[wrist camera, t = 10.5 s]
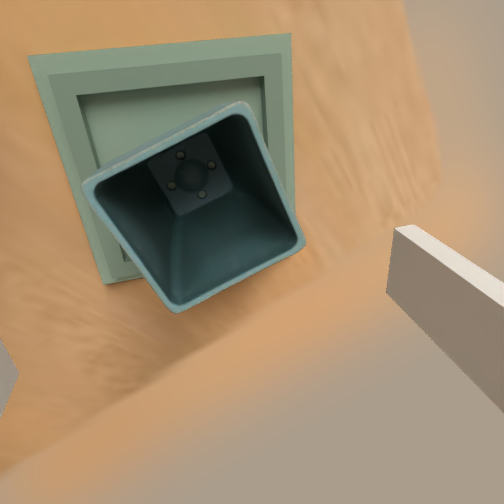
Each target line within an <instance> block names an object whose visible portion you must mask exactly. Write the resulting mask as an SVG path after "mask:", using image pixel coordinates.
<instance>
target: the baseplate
mask: <svg viewBox="0 0 504 504" xmlns="http://www.w3.org/2000/svg"><path fill="white" fill-rule="evenodd" d="M27 57H28V60H29V63H30V66H31V69H32V72H33V75H34V78H35V81H36V84H37V87H38V90H39V93H40V96H41V99H42V102H43V105H44V108H45V111H46V114H47V117H48V120H49V123H50V126H51V129H52V132H53V135H54V138H55V141H56V144H57V147H58V150H59V153H60V156H61V159H62V162H63V165H64V168H65V171H66V174H67V177H68V180H69V183H70V186H71V189H72V192H73V195H74V198H75V201H76V204H77V207H78V210H79V213H80V216H81V219H82V222H83V225H84V228H85V231H86V234H87V237H88V240H89V243H90V246H91V249H92V252H93V255H94V258H95V261H96V264H97V267H98V270H99V273H100V276H101V279H102V282H103V285H105V284H110V283H116V282H121V281H126V280H132V279H137V278H143V277H144V276H143V275H142V273H141V272H140V271H139V270H138V268H137V266H136V265H135V264H134V262H133V261H132V260H131V258H130V257H129V256H128V254H127V253H126V252H125V251H124V249H123V248H122V246H121V245H120V244H119V243H118V241H117V240H116V239H115V237H114V236H113V235H112V233H111V232H110V231H109V230H108V228H107V227H106V226H105V225H104V223H103V222H102V221H101V219H100V218H99V217H98V215H97V214H96V213H95V211H94V210H93V209H92V208H91V207H90V205H89V204H88V202H87V201H86V199H85V198H84V197H83V195H82V192H81V190H80V186H81V184H82V182H83V181H84V180H86V179H87V178H88V177H89V176H91V175H92V174H93V173H94V172H96V171H97V170H98V169H99V168H101V167H102V166H103V165H105V164H106V163H107V162H109V161H111V160H112V159H114V158H116V157H118V156H120V155H122V154H124V153H126V152H128V151H130V150H132V149H134V148H136V147H138V146H140V145H142V144H144V143H146V142H148V141H150V140H152V139H154V138H156V137H158V136H160V135H162V134H164V133H165V132H167V131H169V130H171V129H173V128H175V127H177V126H179V125H181V124H183V123H185V122H187V121H189V120H190V119H192V118H194V117H196V116H198V115H200V114H202V113H204V112H206V111H207V110H209V109H211V108H213V107H215V106H217V105H220V104H224V103H231V102H238V101H244V102H246V103H247V104H248V105H249V106H250V108H251V109H252V111H253V113H254V116H255V118H256V121H257V123H258V126H259V129H260V132H261V134H262V137H263V139H264V142H265V144H266V146H267V149H268V152H269V154H270V156H271V159H272V161H273V164H274V166H275V169H276V171H277V173H278V176H279V178H280V180H281V182H282V185H283V188H284V190H285V192H286V195H287V197H288V199H289V201H290V204H291V207H292V208H293V211H294V213H295V176H294V135H293V94H292V53H291V33H286V34H274V35H263V36H251V37H239V38H228V39H216V40H205V41H193V42H181V43H170V44H158V45H146V46H135V47H123V48H112V49H100V50H88V51H77V52H65V53H53V54H42V55H30V56H27ZM177 158H179V159H182V158H184V153H183V152H178V153H177ZM208 167H209V168H214V167H215V163H214V162H212V161H211V162H209V163H208ZM168 188H169V189H174V188H175V183H173V182H170V183H169V184H168ZM198 195H199V197H204V196H205V195H206V193H205V192H204V191H200V192H199V194H198Z"/></svg>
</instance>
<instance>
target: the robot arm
mask: <svg viewBox="0 0 504 504" xmlns="http://www.w3.org/2000/svg"><path fill="white" fill-rule="evenodd" d="M386 293H387V294H388V295H389V296H390V297H391V298H392V299H393V300H394V301H395V302H396V303H397V304H398V305H399V306H400V307H401V308H402V309H403V310H404V311H405V312H406V314H408V316H409V317H410V318H411V319H412V320H413V321H414V322H415V323H416V324H417V325H418V326H419V327H420V328H421V329H422V330H423V331H424V332H425V333H426V334H427V335H428V336H429V337H430V338H431V339H432V340H433V341H434V342H435V343H436V344H437V345H438V346H439V347H440V348H441V349H442V350H443V351H444V352H445V353H446V354H447V356H448V357H449V358H451V360H452V361H453V362H454V363H455V364H456V365H457V366H458V367H459V368H460V369H461V370H462V371H463V372H464V373H465V374H466V375H467V376H468V377H469V378H470V379H471V380H472V381H473V382H474V383H475V384H476V385H477V386H478V387H479V388H480V389H481V390H482V391H483V392H484V393H485V394H486V395H487V396H488V397H489V399H490V400H491V401H492V402H493V403H494V404H495V405H496V406H497V407H498V408H499V409H500V410H501V411H502V412H503V413H504V283H503V282H501V281H500V280H498V279H496V278H495V277H494V276H492V275H490V274H489V273H487V272H486V271H484V270H482V269H481V268H480V267H478V266H477V265H475V264H473V263H472V262H471V261H469V260H468V259H466V258H464V257H463V256H461V255H460V254H458V253H457V252H455V251H454V250H452V249H451V248H449V247H448V246H446V245H445V244H443V243H442V242H440V241H438V240H437V239H435V238H434V237H432V236H431V235H429V234H428V233H426V232H425V231H423V230H421V229H420V228H419V227H417V226H416V225H408V226H403V227H398V228H394V234H393V242H392V249H391V257H390V265H389V273H388V281H387V289H386ZM18 375H19V371H18V370H17V368H16V366H15V364H14V362H13V361H12V359H11V357H10V355H9V353H8V352H7V350H6V348H5V346H4V344H3V343H2V341H1V339H0V418H1V416H2V414H3V411H4V409H5V406H6V404H7V402H8V399H9V397H10V394H11V392H12V390H13V387H14V385H15V382H16V380H17V378H18Z"/></svg>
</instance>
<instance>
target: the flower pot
mask: <svg viewBox="0 0 504 504" xmlns="http://www.w3.org/2000/svg"><path fill="white" fill-rule="evenodd" d="M178 152H183V153H184V158H182V159H179V158H177V153H178ZM211 161H212V162H214V163H215V167H214V168H209V167H208V163H209V162H211ZM170 182H173V183H175V188H174V189H169V188H168V184H169V183H170ZM80 190H81V192H82V195H83V197H84V198H85V199H86V201H87V202H88V204H89V205H90V207H91V208H92V209H93V210H94V211H95V213H96V214H97V215H98V217H99V218H100V219H101V221H102V222H103V223H104V225H105V226H106V227H107V228H108V230H109V231H110V232H111V233H112V235H113V236H114V237H115V239H116V240H117V241H118V243H119V244H120V245H121V246H122V248H123V249H124V251H125V252H126V253H127V254H128V256H129V257H130V258H131V260H132V261H133V262H134V264H135V265H136V266H137V268H138V270H139V271H140V272H141V273H142V275H143V276H144V278H145V279H146V280H147V282H148V283H149V284H150V286H151V287H152V289H153V290H154V291H155V293H156V294H157V295H158V297H159V298H160V300H161V301H162V302H163V304H164V305H165V306H166V308H167V309H168V310H170V311H171V312H173V313H175V314H178V313H180V312H183V311H185V310H187V309H189V308H191V307H193V306H195V305H197V304H199V303H201V302H202V301H204V300H206V299H208V298H210V297H212V296H213V295H215V294H217V293H219V292H220V291H222V290H225V289H227V288H228V287H230V286H232V285H234V284H236V283H238V282H240V281H242V280H244V279H246V278H248V277H250V276H251V275H253V274H255V273H257V272H259V271H261V270H263V269H265V268H267V267H269V266H271V265H273V264H275V263H277V262H279V261H281V260H283V259H285V258H287V257H289V256H292V255H294V254H295V253H297V252H298V251H300V250H301V249H302V248H303V247H304V246H305V245H306V239H305V236H304V233H303V231H302V229H301V227H300V225H299V222H298V220H297V218H296V215H295V213H294V211H293V208H292V207H291V204H290V201H289V199H288V197H287V195H286V192H285V190H284V188H283V185H282V182H281V180H280V178H279V176H278V173H277V171H276V169H275V166H274V164H273V161H272V159H271V156H270V154H269V152H268V149H267V146H266V144H265V142H264V139H263V137H262V134H261V132H260V129H259V126H258V123H257V121H256V118H255V116H254V113H253V111H252V109H251V108H250V106H249V105H248V104H247V103H246V102H244V101H238V102H231V103H224V104H220V105H217V106H215V107H213V108H211V109H209V110H207V111H206V112H204V113H202V114H200V115H198V116H196V117H194V118H192V119H190V120H189V121H187V122H185V123H183V124H181V125H179V126H177V127H175V128H173V129H171V130H169V131H167V132H165V133H164V134H162V135H160V136H158V137H156V138H154V139H152V140H150V141H148V142H146V143H144V144H142V145H140V146H138V147H136V148H134V149H132V150H130V151H128V152H126V153H124V154H122V155H120V156H118V157H116V158H114V159H112V160H111V161H109V162H107V163H106V164H105V165H103V166H102V167H101V168H99V169H98V170H97V171H96V172H94V173H93V174H92V175H91V176H89V177H88V178H87V179H86V180H84V181H83V182H82V184H81V186H80ZM200 191H204V192H205V193H206V195H205V196H204V197H199V195H198V194H199V192H200Z"/></svg>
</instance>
